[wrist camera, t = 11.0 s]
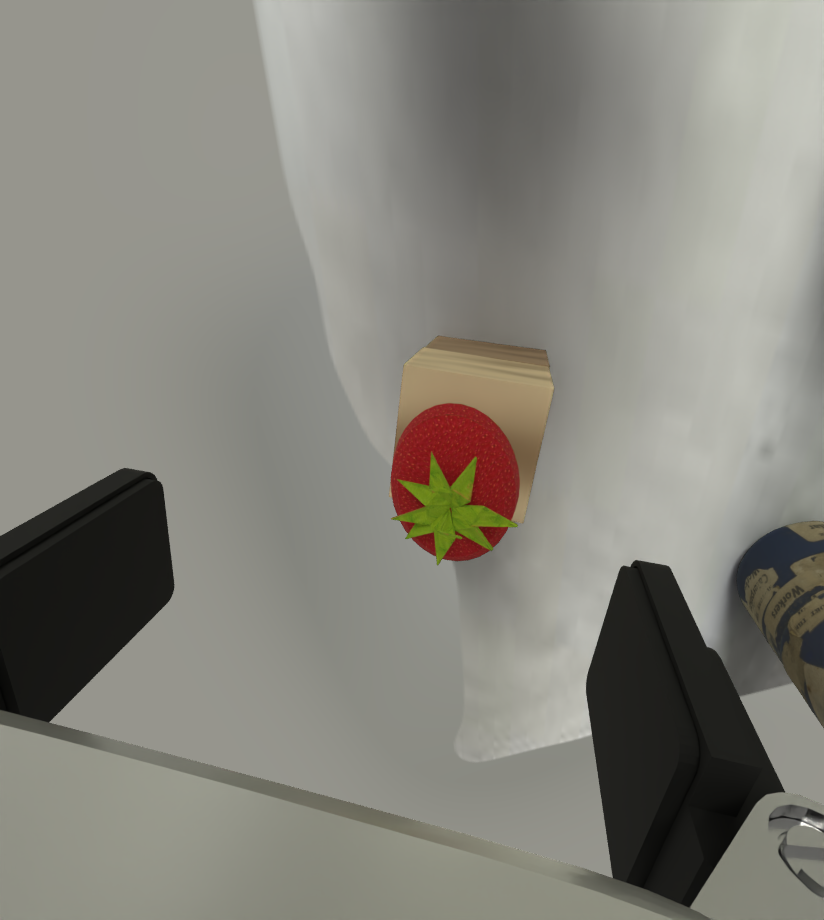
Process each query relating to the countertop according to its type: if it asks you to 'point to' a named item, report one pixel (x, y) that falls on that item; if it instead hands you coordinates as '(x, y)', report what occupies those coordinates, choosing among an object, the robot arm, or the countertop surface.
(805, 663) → the canister
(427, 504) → the strawberry
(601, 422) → the countertop surface
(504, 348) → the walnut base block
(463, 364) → the oak top block
